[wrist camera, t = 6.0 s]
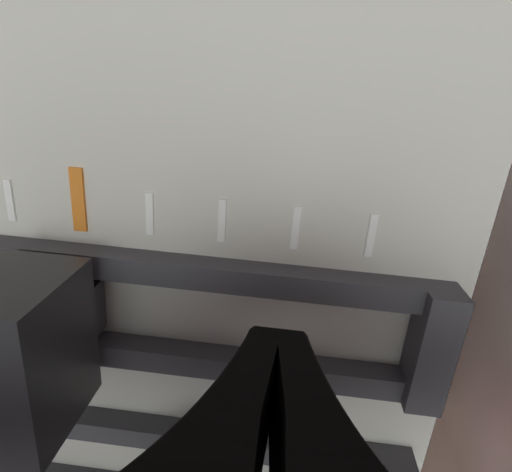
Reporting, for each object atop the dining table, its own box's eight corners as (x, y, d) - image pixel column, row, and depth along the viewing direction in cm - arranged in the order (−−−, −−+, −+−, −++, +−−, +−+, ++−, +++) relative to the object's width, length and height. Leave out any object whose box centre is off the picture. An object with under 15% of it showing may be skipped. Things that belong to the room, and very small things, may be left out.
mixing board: (-1, 451, 17) (-46, 508, 15) (-100, -28, 11) (-203, -57, 9) (393, 506, 16) (409, 575, 14) (528, 12, 10) (597, -9, 8)
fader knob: (45, 349, 13) (-66, 466, 9) (29, 232, 12) (-110, 311, 8) (118, 358, 13) (38, 481, 9) (111, 240, 12) (12, 325, 8)
